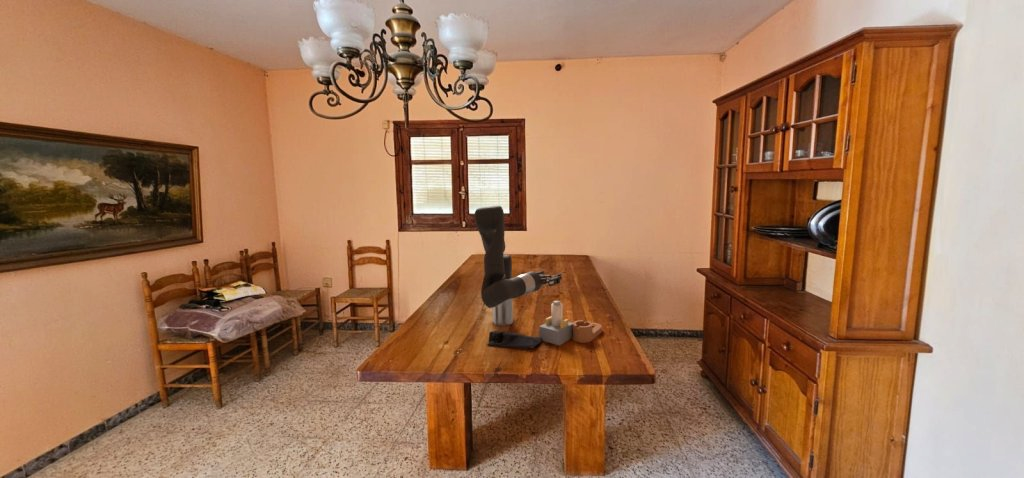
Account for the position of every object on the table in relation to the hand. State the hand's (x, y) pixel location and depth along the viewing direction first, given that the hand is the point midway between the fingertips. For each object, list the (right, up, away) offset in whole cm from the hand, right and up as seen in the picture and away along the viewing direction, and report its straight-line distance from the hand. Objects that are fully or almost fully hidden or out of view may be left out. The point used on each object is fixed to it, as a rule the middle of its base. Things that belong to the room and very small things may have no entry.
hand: (551, 274), depth 157 cm
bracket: (+17, -28, +16) cm, 37 cm away
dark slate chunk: (-15, -30, +11) cm, 35 cm away
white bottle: (+4, -23, +13) cm, 26 cm away
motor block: (+5, -28, +15) cm, 32 cm away
